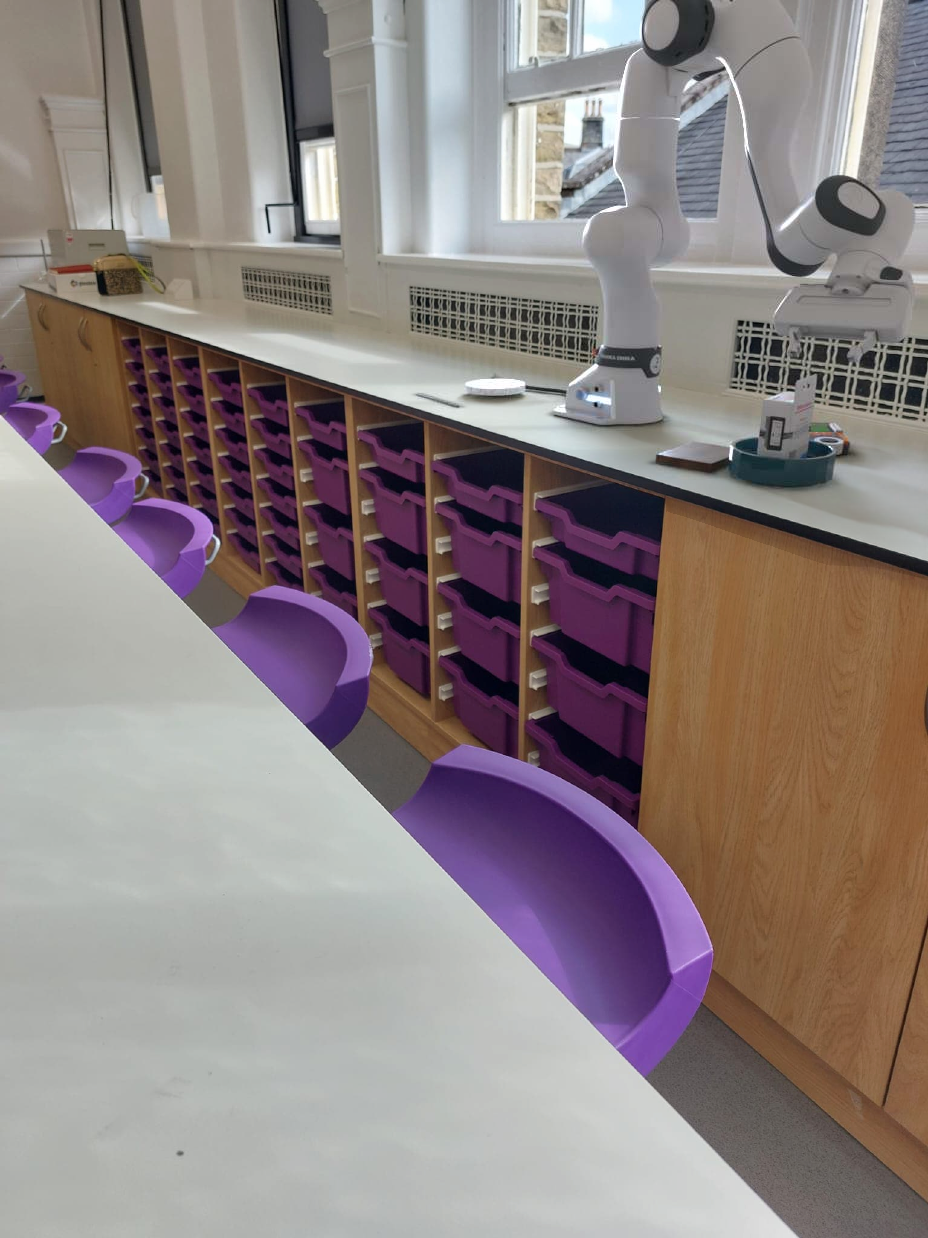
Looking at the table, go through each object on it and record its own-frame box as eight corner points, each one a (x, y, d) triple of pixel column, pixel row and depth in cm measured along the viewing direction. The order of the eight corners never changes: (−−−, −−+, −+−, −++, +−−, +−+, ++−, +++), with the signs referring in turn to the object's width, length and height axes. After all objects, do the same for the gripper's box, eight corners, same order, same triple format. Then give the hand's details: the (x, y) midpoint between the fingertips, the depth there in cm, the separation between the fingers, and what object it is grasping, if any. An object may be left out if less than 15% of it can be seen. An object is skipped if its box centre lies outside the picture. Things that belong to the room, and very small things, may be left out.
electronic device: (812, 442, 145) (796, 419, 159) (809, 459, 147) (793, 435, 160) (855, 443, 144) (835, 420, 158) (852, 460, 146) (832, 436, 159)
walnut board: (655, 463, 144) (656, 454, 144) (692, 449, 152) (693, 441, 152) (710, 473, 138) (711, 463, 137) (745, 458, 146) (747, 449, 145)
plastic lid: (475, 401, 197) (475, 390, 196) (458, 391, 209) (458, 380, 208) (533, 397, 201) (534, 386, 199) (513, 387, 213) (513, 377, 212)
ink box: (774, 464, 140) (787, 370, 134) (805, 469, 137) (819, 373, 131) (752, 476, 134) (764, 377, 128) (784, 481, 131) (798, 380, 125)
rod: (457, 408, 192) (457, 405, 191) (417, 396, 207) (417, 393, 206) (459, 408, 192) (459, 405, 192) (419, 395, 207) (419, 392, 207)
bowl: (710, 477, 135) (713, 449, 133) (755, 459, 145) (758, 432, 144) (806, 495, 126) (810, 464, 124) (847, 474, 136) (852, 445, 134)
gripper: (788, 269, 142) (753, 338, 139) (922, 272, 129) (886, 348, 126) (796, 297, 146) (762, 364, 144) (926, 302, 134) (891, 375, 131)
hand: (821, 356), depth 135 cm, fingers open, 8 cm apart
